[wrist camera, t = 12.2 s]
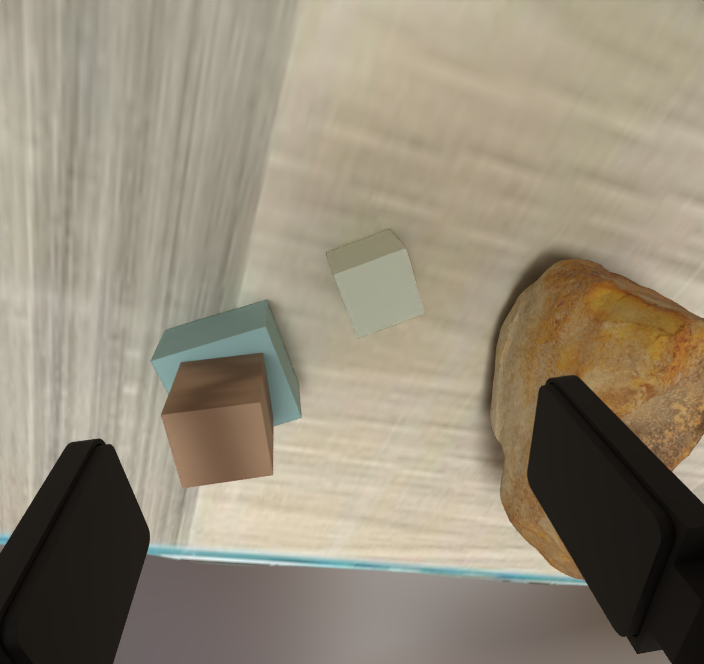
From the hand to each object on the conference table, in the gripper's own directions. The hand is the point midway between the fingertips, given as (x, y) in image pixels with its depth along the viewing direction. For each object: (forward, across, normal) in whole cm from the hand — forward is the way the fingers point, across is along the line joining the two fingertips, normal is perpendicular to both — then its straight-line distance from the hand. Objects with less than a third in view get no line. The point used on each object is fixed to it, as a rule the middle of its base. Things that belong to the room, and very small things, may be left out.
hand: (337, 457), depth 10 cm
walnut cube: (+20, +7, +11) cm, 24 cm away
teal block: (+25, +7, +12) cm, 28 cm away
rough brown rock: (+26, -22, +18) cm, 38 cm away
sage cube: (+25, -4, +6) cm, 26 cm away
